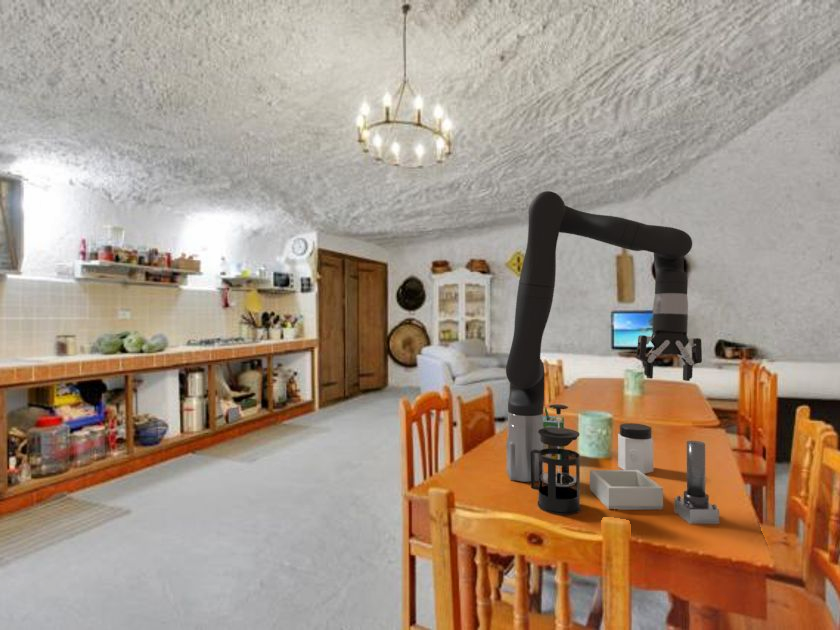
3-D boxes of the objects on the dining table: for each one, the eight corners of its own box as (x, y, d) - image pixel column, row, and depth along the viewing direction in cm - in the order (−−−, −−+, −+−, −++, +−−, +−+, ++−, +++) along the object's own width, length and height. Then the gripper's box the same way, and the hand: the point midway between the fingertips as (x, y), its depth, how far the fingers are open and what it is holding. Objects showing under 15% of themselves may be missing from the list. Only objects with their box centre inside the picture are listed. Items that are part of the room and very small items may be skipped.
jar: (616, 470, 129) (616, 427, 129) (619, 462, 136) (619, 421, 136) (652, 476, 124) (652, 431, 124) (654, 467, 131) (654, 425, 131)
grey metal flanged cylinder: (691, 508, 97) (691, 445, 97) (679, 499, 102) (679, 439, 101) (713, 508, 97) (713, 445, 97) (700, 499, 101) (700, 439, 101)
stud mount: (689, 523, 96) (689, 505, 96) (674, 511, 102) (674, 494, 102) (719, 523, 96) (719, 505, 96) (701, 511, 102) (701, 494, 102)
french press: (589, 505, 106) (588, 404, 106) (576, 520, 98) (575, 411, 98) (539, 493, 113) (539, 399, 113) (523, 506, 105) (523, 405, 105)
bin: (608, 509, 103) (608, 488, 103) (589, 489, 115) (589, 470, 115) (663, 509, 103) (662, 488, 103) (638, 489, 115) (638, 470, 115)
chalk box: (564, 462, 137) (564, 412, 137) (532, 459, 140) (532, 410, 140) (565, 453, 145) (564, 406, 145) (535, 450, 148) (534, 404, 148)
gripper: (645, 310, 111) (643, 379, 110) (708, 313, 109) (706, 383, 109) (634, 312, 118) (632, 376, 117) (693, 315, 117) (691, 379, 116)
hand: (667, 379), depth 113 cm, fingers open, 8 cm apart
